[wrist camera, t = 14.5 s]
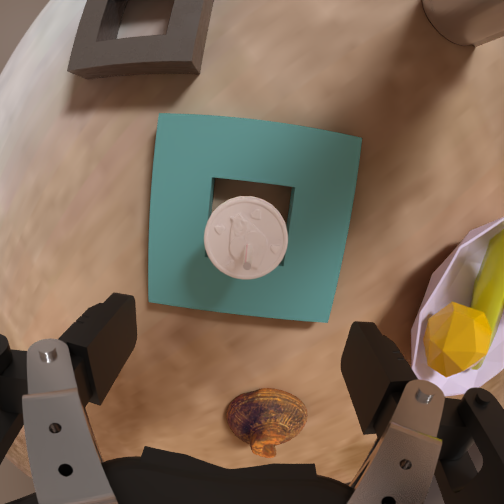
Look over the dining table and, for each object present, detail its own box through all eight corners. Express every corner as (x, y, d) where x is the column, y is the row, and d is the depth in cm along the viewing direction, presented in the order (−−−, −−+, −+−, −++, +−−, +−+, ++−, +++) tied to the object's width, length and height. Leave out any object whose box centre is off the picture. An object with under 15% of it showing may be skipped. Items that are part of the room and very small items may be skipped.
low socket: (354, 139, 29) (362, 137, 27) (323, 312, 35) (327, 322, 32) (166, 116, 29) (159, 113, 26) (155, 292, 34) (148, 301, 32)
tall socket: (219, -24, 23) (215, -44, 19) (199, 74, 27) (191, 60, 23) (112, -14, 23) (98, -29, 19) (86, 79, 27) (67, 70, 23)
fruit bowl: (487, 369, 39) (518, 405, 28) (366, 374, 38) (393, 431, 27) (541, 220, 31) (588, 238, 20) (428, 171, 30) (491, 180, 19)
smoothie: (232, 255, 33) (217, 318, 20) (208, 201, 31) (174, 229, 18) (287, 234, 32) (310, 284, 19) (265, 177, 31) (273, 188, 17)
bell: (253, 374, 38) (252, 412, 31) (322, 403, 40) (331, 440, 33) (212, 420, 41) (206, 456, 34) (276, 444, 42) (279, 478, 36)
